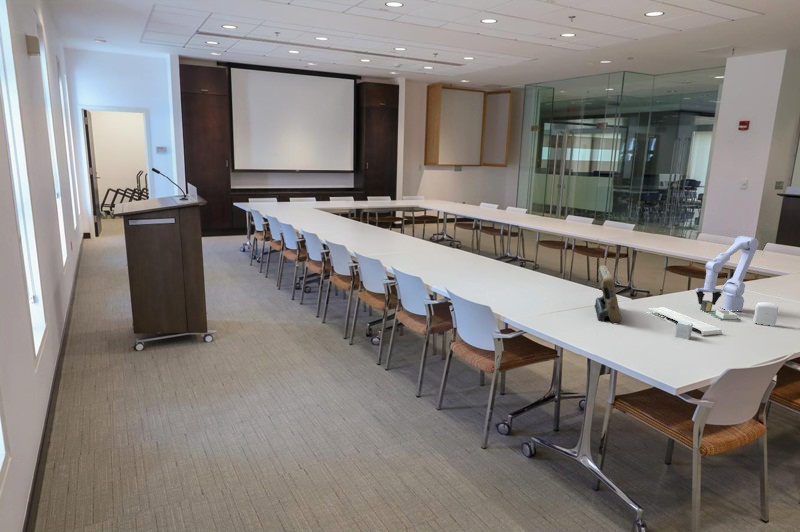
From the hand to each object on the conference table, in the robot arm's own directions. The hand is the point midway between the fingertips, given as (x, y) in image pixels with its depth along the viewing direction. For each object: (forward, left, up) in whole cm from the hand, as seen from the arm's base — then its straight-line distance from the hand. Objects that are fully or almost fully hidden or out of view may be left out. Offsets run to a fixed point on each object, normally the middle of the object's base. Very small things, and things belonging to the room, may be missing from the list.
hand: (706, 304), depth 303 cm
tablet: (+63, +15, -5) cm, 65 cm away
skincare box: (+37, +47, -4) cm, 60 cm away
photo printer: (-20, +21, -4) cm, 29 cm away
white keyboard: (+27, +25, -5) cm, 37 cm away
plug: (0, 0, -4) cm, 4 cm away
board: (-5, +11, -4) cm, 13 cm away
